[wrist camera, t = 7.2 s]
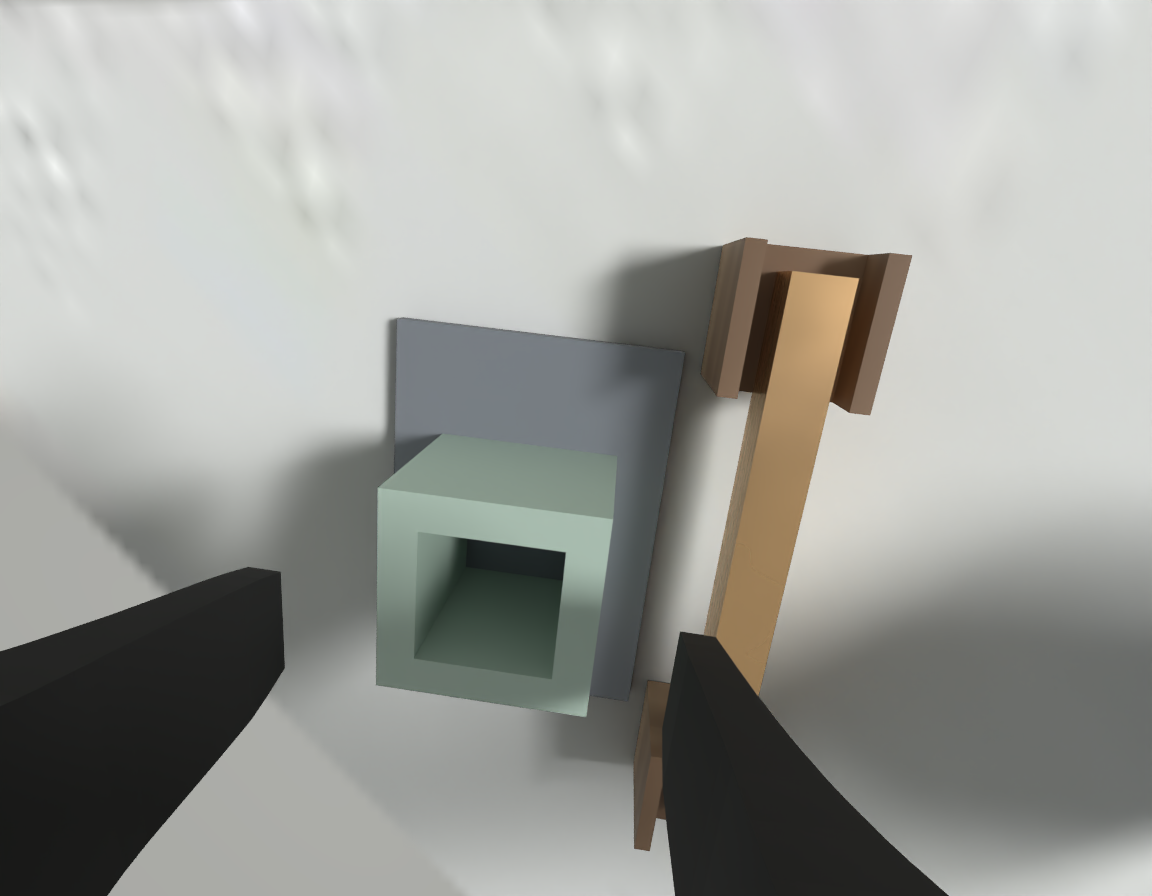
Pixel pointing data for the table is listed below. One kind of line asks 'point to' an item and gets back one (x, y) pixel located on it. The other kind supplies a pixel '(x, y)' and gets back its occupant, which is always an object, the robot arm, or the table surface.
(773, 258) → the bar stand
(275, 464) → the table surface
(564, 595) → the hollow green cube
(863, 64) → the table surface
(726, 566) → the copper bar
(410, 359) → the slate mat
